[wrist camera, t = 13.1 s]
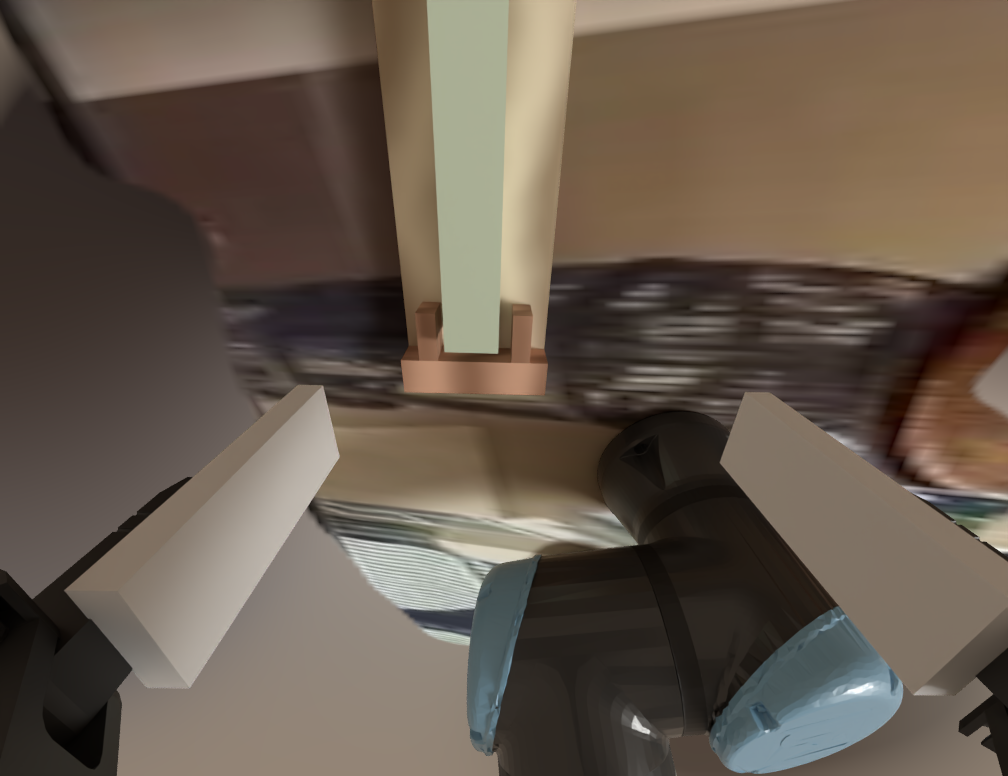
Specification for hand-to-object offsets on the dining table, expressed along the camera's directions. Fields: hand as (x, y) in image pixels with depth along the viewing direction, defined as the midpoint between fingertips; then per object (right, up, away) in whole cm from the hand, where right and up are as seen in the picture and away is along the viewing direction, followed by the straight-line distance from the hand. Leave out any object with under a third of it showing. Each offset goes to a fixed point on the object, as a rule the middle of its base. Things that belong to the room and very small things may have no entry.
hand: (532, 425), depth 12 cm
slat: (-3, +17, +14) cm, 22 cm away
